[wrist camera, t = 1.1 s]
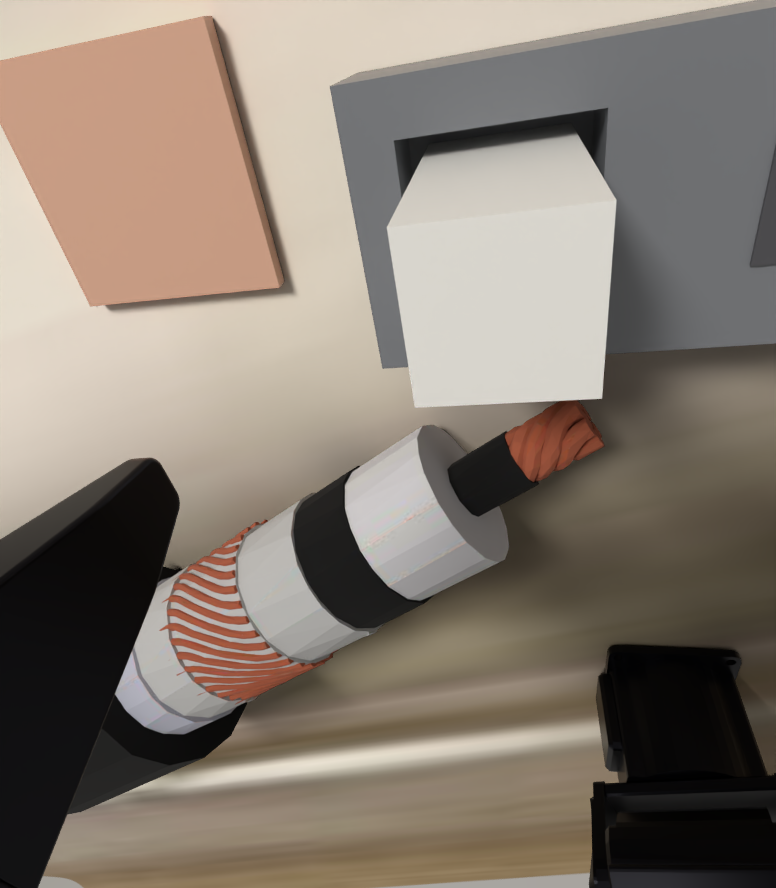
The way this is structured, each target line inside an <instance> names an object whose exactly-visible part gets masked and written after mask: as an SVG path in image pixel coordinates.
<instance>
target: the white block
mask: <svg viewBox="0 0 776 888" xmlns="http://www.w3.org/2000/svg"><path fill="white" fill-rule="evenodd" d="M616 201H617V200H616V198H615V197H614V195H613V193H612V192H611V190H610V188H609V187H608V185H607V183H606V182H605V180H604V178H603V176H602V175H601V173H600V171H599V170H598V168H597V166H596V165H595V163H594V161H593V159H592V158H591V156H590V154H589V153H588V151H587V149H586V148H585V146H584V144H583V143H582V141H581V139H580V137H579V136H578V134H577V132H576V131H575V129H574V127H573V126H572V124H571V123H567V124H560V125H554V126H547V127H540V128H533V129H527V130H520V131H513V132H507V133H500V134H493V135H487V136H480V137H473V138H467V139H460V140H453V141H447V142H440V143H433V144H429V145H428V147H427V149H426V151H425V153H424V155H423V157H422V159H421V161H420V163H419V165H418V167H417V169H416V171H415V173H414V175H413V177H412V179H411V181H410V183H409V185H408V187H407V189H406V191H405V193H404V195H403V197H402V198H401V200H400V202H399V204H398V206H397V208H396V210H395V212H394V214H393V216H392V218H391V220H390V222H389V224H388V226H387V232H388V239H389V245H390V252H391V258H392V264H393V271H394V277H395V284H396V290H397V296H398V303H399V309H400V316H401V322H402V328H403V335H404V341H405V348H406V354H407V360H408V367H409V373H410V380H411V386H412V392H413V399H414V405H415V408H419V407H440V406H461V405H482V404H503V403H524V402H545V401H565V400H586V399H602V392H603V378H604V364H605V351H606V337H607V323H608V310H609V296H610V283H611V269H612V255H613V242H614V228H615V214H616Z"/></svg>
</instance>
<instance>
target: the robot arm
mask: <svg viewBox="0 0 776 888" xmlns="http://www.w3.org/2000/svg"><path fill="white" fill-rule="evenodd" d="M179 506H180V502H179V496H178V493H177V491H176V490H175V488H174V486H173V484H172V483H171V481H170V479H169V477H168V476H167V474H166V472H165V470H164V469H163V467H162V465H161V464H160V462H158V461H157V460H156V459H154V458H138V459H130V460H128V461H126V462H124V463H123V464H121V465H119V466H118V467H116V468H115V469H113V470H111V471H110V472H108V473H106V474H105V475H103V476H102V477H100V478H98V479H97V480H95V481H94V482H92V483H90V484H89V485H87V486H86V487H84V488H82V489H81V490H79V491H77V492H76V493H74V494H73V495H71V496H69V497H68V498H66V499H65V500H63V501H61V502H60V503H58V504H57V505H55V506H53V507H52V508H50V509H49V510H47V511H45V512H44V513H42V514H40V515H39V516H37V517H36V518H34V519H32V520H31V521H29V522H28V523H26V524H24V525H23V526H21V527H20V528H18V529H16V530H15V531H13V532H11V533H10V534H8V535H7V536H5V537H3V538H2V539H0V888H38V886H39V884H40V881H41V878H42V876H43V874H44V871H45V869H46V866H47V864H48V861H49V859H50V856H51V854H52V851H53V849H54V846H55V844H56V841H57V839H58V836H59V834H60V831H61V829H62V826H63V824H64V821H65V818H66V816H67V813H68V811H69V808H70V806H71V803H72V801H73V798H74V796H75V793H76V791H77V788H78V786H79V783H80V781H81V778H82V776H83V773H84V771H85V768H86V766H87V763H88V761H89V758H90V756H91V753H92V751H93V748H94V746H95V743H96V741H97V738H98V736H99V733H100V730H101V728H102V725H103V723H104V720H105V718H106V715H107V713H108V710H109V708H110V705H111V703H112V700H113V698H114V695H115V693H116V690H117V688H118V685H119V683H120V680H121V678H122V675H123V673H124V670H125V668H126V665H127V663H128V660H129V658H130V655H131V653H132V650H133V647H134V645H135V642H136V640H137V637H138V635H139V632H140V630H141V627H142V625H143V622H144V620H145V617H146V615H147V612H148V610H149V607H150V605H151V602H152V599H153V597H154V594H155V591H156V588H157V585H158V582H159V578H160V575H161V571H162V568H163V564H164V561H165V557H166V554H167V550H168V547H169V543H170V540H171V536H172V533H173V529H174V526H175V522H176V519H177V515H178V512H179ZM740 666H741V658H740V656H739V654H738V652H736V651H732V650H714V649H689V648H665V647H641V646H612V647H610V648H609V649H608V651H607V660H606V669H605V673H601V674H600V675H599V676H598V684H597V694H596V703H597V710H598V717H599V724H600V732H601V739H602V746H603V753H604V761H605V767H606V768H607V769H608V770H609V771H613V772H617V773H618V779H619V783H605V782H604V781H602V782H593V795H594V797H592V798H591V799H590V802H591V814H592V859H591V869H590V878H589V888H776V773H774V775H769V776H768V774H767V772H766V769H765V766H764V763H763V760H762V757H761V754H760V751H759V749H758V746H757V743H756V740H755V737H754V734H753V731H752V728H751V725H750V723H749V720H748V717H747V714H746V711H745V708H744V705H743V702H742V699H741V697H740V694H739V691H738V688H737V685H736V682H735V680H736V677H737V674H738V671H739V669H740Z"/></svg>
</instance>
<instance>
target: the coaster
mask: <svg viewBox="0 0 776 888" xmlns="http://www.w3.org/2000/svg"><path fill="white" fill-rule="evenodd" d="M0 124H1V126H2V128H3V130H4V132H5V134H6V137H7V139H8V141H9V143H10V145H11V147H12V149H13V151H14V153H15V155H16V157H17V159H18V161H19V163H20V165H21V167H22V169H23V171H24V173H25V175H26V177H27V179H28V181H29V183H30V185H31V187H32V189H33V191H34V193H35V195H36V197H37V199H38V201H39V203H40V205H41V207H42V209H43V211H44V213H45V215H46V217H47V219H48V221H49V223H50V226H51V228H52V230H53V232H54V234H55V236H56V238H57V240H58V242H59V244H60V246H61V248H62V250H63V252H64V254H65V256H66V258H67V260H68V262H69V264H70V266H71V268H72V270H73V272H74V274H75V276H76V278H77V280H78V282H79V284H80V286H81V288H82V290H83V292H84V294H85V296H86V298H87V300H88V302H89V304H90V306H100V305H110V304H120V303H130V302H140V301H150V300H160V299H170V298H180V297H190V296H200V295H210V294H220V293H230V292H240V291H250V290H260V289H270V288H280V286H281V285H282V284H283V283H284V278H283V274H282V270H281V267H280V263H279V259H278V256H277V252H276V248H275V245H274V241H273V237H272V234H271V230H270V227H269V223H268V219H267V216H266V212H265V208H264V205H263V201H262V197H261V194H260V190H259V186H258V183H257V179H256V175H255V172H254V168H253V165H252V161H251V157H250V154H249V150H248V146H247V143H246V139H245V135H244V132H243V128H242V124H241V121H240V117H239V114H238V110H237V106H236V103H235V99H234V95H233V92H232V88H231V84H230V81H229V77H228V73H227V70H226V66H225V62H224V59H223V55H222V52H221V48H220V44H219V41H218V37H217V33H216V30H215V26H214V22H213V19H212V16H203V17H199V18H194V19H189V20H185V21H180V22H176V23H171V24H166V25H162V26H157V27H153V28H148V29H143V30H139V31H134V32H130V33H125V34H121V35H116V36H111V37H107V38H102V39H98V40H93V41H88V42H84V43H79V44H75V45H70V46H65V47H61V48H56V49H52V50H47V51H42V52H38V53H33V54H29V55H24V56H20V57H15V58H10V59H6V60H1V61H0Z"/></svg>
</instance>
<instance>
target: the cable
mask: <svg viewBox="0 0 776 888" xmlns="http://www.w3.org/2000/svg"><path fill="white" fill-rule="evenodd" d="M590 421H591V418H590V416H589V414H588V412H587V411H586V409H585V408H584V407H583V406H582V404H581V405H580V403H579V402H578V400H565V401H559V402H557V403H555V404H554V405H552V406H550V407H548V408H547V409H545V410H544V411H543V413H541V414H539V415H537V416H535V417H533V418H531V419H529V420H528V421H526V422H525V423H524V424H523V425H522V426H517V427H514V428H513V429H511V430H510V431H509V432H507V431H505V432H504V433H502V434H500V435H499V436H497V437H495V438H494V439H492V440H491V441H489V442H487V443H486V444H484V445H482V446H481V447H479V448H477V449H476V450H474V451H472V452H471V453H469V454H466V452H465V451H464V450H463V449H462V448H461V447H460V446H459V445H458V444H457V442H456V441H455V440H454V439H453V438H452V437H451V436H450V435H449V434H448V433H446V432H445V431H444V430H442V429H440V428H438V427H437V426H435V425H426V426H421V427H420V428H418V429H417V430H415V431H414V432H412V433H411V434H409V435H408V436H406V437H405V438H403V439H401V440H400V441H398V442H397V443H395V444H394V445H392V446H391V447H389V448H388V449H386V450H385V451H383V452H382V453H380V454H379V455H377V456H376V457H374V458H373V459H371V460H370V461H368V462H367V463H365V464H363V465H362V466H357V467H356V468H354V469H352V470H351V471H349V472H348V473H346V474H345V475H343V476H342V477H340V478H338V479H337V480H335V481H334V482H332V483H331V484H329V485H328V486H326V487H325V488H323V489H322V490H320V491H319V492H317V493H311V494H309V495H308V496H306V497H304V498H303V499H301V500H300V501H298V502H297V503H295V504H294V505H292V506H291V507H289V508H288V509H286V510H285V511H283V512H282V513H280V514H278V515H277V516H275V517H274V518H272V519H271V520H269V521H268V520H264V521H263V522H262V523H261V524H259V523H258V522H255V523H254V524H253V525H252V526H251V527H247V528H246V529H244V530H243V531H242V532H240V533H239V534H237V535H236V536H235V538H233V539H231V540H229V541H227V542H226V543H224V544H223V545H222V547H221V548H218V549H215V550H213V551H212V552H211V554H210V556H206V557H203V558H202V559H200V560H199V561H198V562H196V563H194V564H191V565H189V566H188V567H186V568H185V569H183V570H182V571H177V570H173V569H170V568H166V567H163V568H162V571H161V575H160V578H159V582H158V585H157V588H156V591H155V594H154V597H153V599H152V602H151V605H150V607H149V610H148V612H147V615H146V617H145V620H144V622H143V625H142V627H141V630H140V632H139V635H138V637H137V640H136V642H135V645H134V647H133V650H132V653H131V655H130V658H129V660H128V663H127V665H126V668H125V670H124V673H123V675H122V678H121V680H120V683H119V685H118V688H117V690H116V693H115V695H114V698H113V700H112V703H111V705H110V708H109V710H108V713H107V715H106V718H105V720H104V723H103V725H102V728H101V730H100V733H99V736H98V738H97V741H96V743H95V746H94V748H93V751H92V753H91V756H90V758H89V761H88V763H87V766H86V768H85V771H84V773H83V776H82V778H81V781H80V783H79V786H78V788H77V791H76V793H75V796H74V798H73V801H72V803H71V806H70V808H69V811H68V813H67V814H72V813H77V812H82V811H84V810H86V809H88V808H91V807H93V806H95V805H98V804H100V803H102V802H104V801H107V800H109V799H111V798H113V797H116V796H118V795H120V794H123V793H125V792H127V791H129V790H132V789H134V788H136V787H138V786H141V785H143V784H145V783H148V782H150V781H152V780H154V779H157V778H159V777H161V776H163V775H166V774H168V773H170V772H173V771H175V770H177V769H179V768H182V767H184V766H186V765H189V764H191V763H193V762H195V761H198V760H200V759H202V758H204V757H206V756H207V755H208V754H209V753H210V752H212V751H213V750H214V749H215V748H216V747H218V746H219V745H220V744H221V743H222V742H224V741H225V740H226V739H227V738H228V737H230V736H231V734H232V732H233V730H234V728H235V726H236V724H237V722H238V720H239V718H240V716H241V714H242V713H243V711H244V709H245V707H246V705H247V702H250V701H252V700H254V699H256V698H257V697H258V696H259V695H260V694H262V693H264V692H266V691H268V690H270V689H272V688H274V687H276V686H278V685H280V684H282V683H285V682H287V681H289V680H290V679H292V678H294V677H296V676H298V675H300V674H303V673H305V672H307V671H309V670H311V669H313V668H316V667H318V666H320V665H322V664H325V661H327V660H329V659H331V658H332V657H333V653H334V652H336V651H337V650H339V649H340V648H342V647H344V646H346V645H348V644H350V643H352V642H354V641H356V640H358V639H360V638H363V637H366V636H369V635H371V634H373V633H375V632H377V629H378V628H380V627H381V626H382V625H384V624H385V623H386V622H388V621H390V620H392V619H394V618H396V617H398V616H400V615H402V614H404V613H406V612H408V611H410V610H412V609H414V608H416V607H418V606H420V605H422V604H424V603H425V602H427V601H428V600H429V599H430V598H431V597H432V596H434V595H435V594H436V593H438V592H440V591H442V590H444V589H446V588H448V587H450V586H452V585H454V584H456V583H458V582H460V581H463V580H465V579H467V578H469V577H471V576H473V575H475V574H477V573H479V572H481V571H483V570H485V569H487V568H489V567H491V566H493V565H495V564H497V563H499V562H501V561H503V560H505V558H506V555H507V552H508V549H509V542H508V534H507V527H506V524H505V521H504V518H503V515H502V512H501V509H500V507H499V506H500V505H501V504H503V503H505V502H507V501H509V500H511V499H513V498H514V497H516V496H518V495H520V494H522V493H524V492H525V491H527V490H529V489H531V488H533V487H535V486H537V485H538V484H539V483H538V481H540V480H542V479H545V478H547V477H548V476H549V475H550V474H551V473H552V471H559V470H562V469H564V468H566V467H567V466H568V465H569V464H571V462H572V460H580V459H582V458H584V457H586V456H587V455H589V454H591V453H593V452H595V451H597V450H599V449H601V448H602V447H604V443H603V441H602V439H601V438H602V436H601V434H600V432H599V430H598V429H597V427H596V426H595V424H594V423H593V422H592V421H591V422H590Z"/></svg>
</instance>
